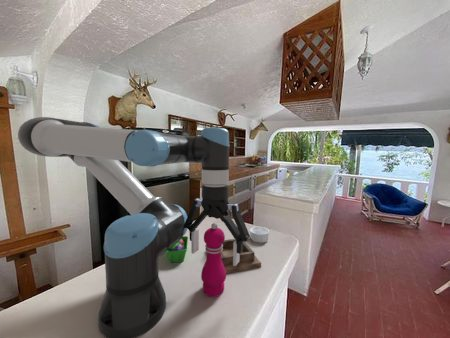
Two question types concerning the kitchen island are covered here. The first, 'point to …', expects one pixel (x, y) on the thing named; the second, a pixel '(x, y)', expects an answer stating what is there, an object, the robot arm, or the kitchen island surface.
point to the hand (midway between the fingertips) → (214, 257)
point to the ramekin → (259, 234)
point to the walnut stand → (246, 257)
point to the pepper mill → (213, 262)
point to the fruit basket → (178, 250)
